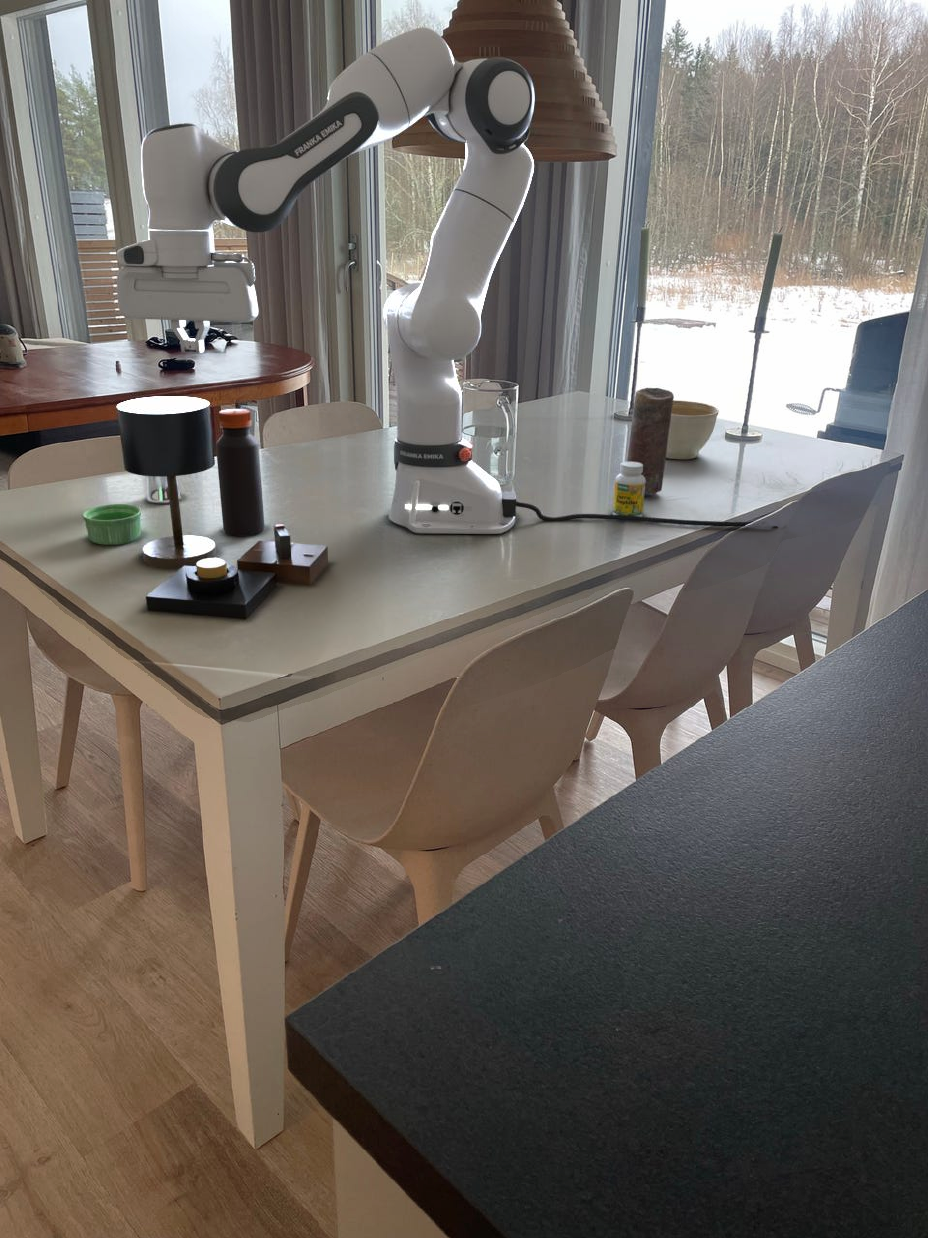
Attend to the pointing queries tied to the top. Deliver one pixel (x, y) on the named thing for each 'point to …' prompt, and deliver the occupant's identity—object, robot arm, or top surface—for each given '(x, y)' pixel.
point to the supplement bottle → (629, 490)
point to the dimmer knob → (282, 541)
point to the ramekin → (113, 523)
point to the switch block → (212, 593)
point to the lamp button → (211, 568)
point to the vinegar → (239, 475)
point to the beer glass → (159, 490)
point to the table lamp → (169, 463)
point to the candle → (651, 435)
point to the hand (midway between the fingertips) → (193, 352)
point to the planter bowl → (689, 428)
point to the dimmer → (286, 562)
